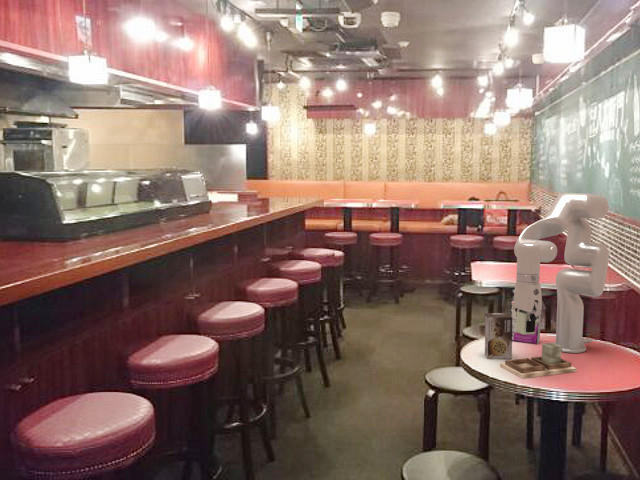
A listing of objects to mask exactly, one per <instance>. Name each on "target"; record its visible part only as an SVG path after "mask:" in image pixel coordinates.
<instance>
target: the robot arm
mask: <svg viewBox="0 0 640 480" xmlns="http://www.w3.org/2000/svg"><path fill="white" fill-rule="evenodd" d="M609 206H610V205H609V202H608V200H607V198H606V197H605V196H602V195H596V194H591V193H586V192H585V193H582V192H581V193H579V192H578V193H577V192H563V193H560V194H558V196H556V197H555V199H554V200H553V202H552V204H551V206H550V208H549V210H548V211H547V213H546V214H545V216H544V217H543V218H541V219H539V220H537V221H535V222H533V223H532V224H530V225H528V226H527V227H525V228H524V229H523V230H522V232H521V233H520V235H519V236H518V238H517V240H516V241H515V243H514V248H513V249H514V250H513V252H514V255H515V257H516V274H515V275H516V276H515V277H516V279H515V280H516V281H515V285H514V292H513V300H514V304H513V307H514V309H515V311H516V316H517V312H519V311H525V312H527V317H528V321H526V332H535V321H536V320H537V318H538V317H539V316H540V315H541V316H542V310H543V308H542V307H543V295H542V286H541V283H540V271H541V263H551V262H553V261H554V260H555V259H556V257H557V255H558V247H557V245H556V244H555V243H554V242H552V241H550V240H543V239H545V238H550V237H554V236H558V235H560V234H563V233H564V232H565V231H566V230H567V235H566V236H567V237H566V241H565V248H564V257H563V258H564V259H563V260H564V262H565V263H566V264H568V265H569V266H574V267H583V268H591V270H584V269H578V268H562V269H560V270H559V271H558V272H557V273H556V275H555V285H556V293H557V294H556V296H557V298H556V299H557V304H556V305H557V306H556V307H557V308H556V328H555V341H554V342H552V343H554V344H557V345H559V346H561V353H568V354H569V353H570V354H579V353H584V352H585V351H587V346H586V345H585V344H591V343H592V342H593V339H592V338H591V337H586V338H585V337H583V329H584V310H585V309H584V308H585V306H584V303H583V302H584V301H583V300H582V298H581V296H586V297H594V298H597V297H600V296H601V295H602V294H603V293H604V290H605V286H606V281H607V274H608V267H609V261H610V252H609V249H608V247H607V246H606V245H605V244H603V243H598V242H591V241H592V240H591V239H592V227H591V225H590V224H589V222H588V221H587V220H586V219H596V220H597V219H599V220H601V219H603V218H605V217H606V216H607V214H608V212H609ZM541 239H542V240H541ZM532 310H533V312H532ZM532 313H533V315H532V316H531V314H532Z"/></svg>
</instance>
